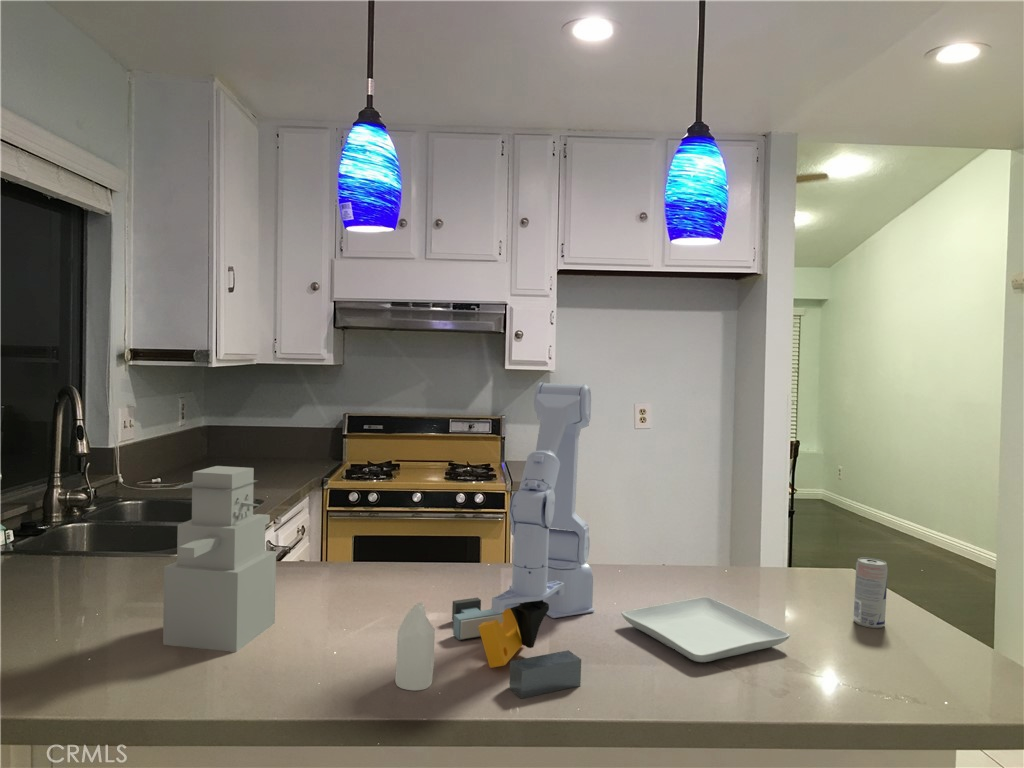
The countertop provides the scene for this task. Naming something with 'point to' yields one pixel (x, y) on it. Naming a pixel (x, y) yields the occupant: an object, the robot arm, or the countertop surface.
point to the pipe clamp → (500, 639)
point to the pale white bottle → (415, 651)
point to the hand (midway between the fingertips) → (527, 645)
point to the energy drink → (870, 592)
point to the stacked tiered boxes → (220, 566)
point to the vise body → (545, 674)
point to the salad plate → (705, 628)
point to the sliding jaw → (471, 618)
